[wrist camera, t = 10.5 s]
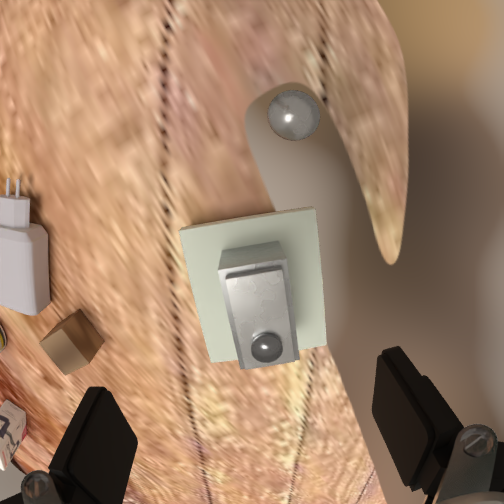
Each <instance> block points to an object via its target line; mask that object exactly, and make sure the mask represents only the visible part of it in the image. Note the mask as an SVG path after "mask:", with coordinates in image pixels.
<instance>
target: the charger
mask: <svg viewBox="0 0 504 504" xmlns="http://www.w3.org/2000/svg"><path fill="white" fill-rule="evenodd" d="M19 195H20V179H17V182H16V195H10V178H7V186H6V195H0V305H2V306H4V307H7V308H10V309H12V310H15V311H18V312H20V313H23V314H26V315H37V314H39V313H40V312H41V311H42V310H43V309H44V308H46V307H47V306H48V305H49V304H50V303H51V302H50V288H49V268H48V234H47V232H46V231H45V230H44V228H43V227H42V225H39V224H34V223H29V213H30V198H27V197H24V196H19Z"/></svg>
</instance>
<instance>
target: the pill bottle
mask: <svg viewBox="0 0 504 504" xmlns="http://www.w3.org/2000/svg"><path fill="white" fill-rule="evenodd" d="M5 346H6V336H5V333H4V330H3V328H2V326H1V325H0V352H1V351H2V350H3V349H4V348H5Z"/></svg>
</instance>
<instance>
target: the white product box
mask: <svg viewBox="0 0 504 504" xmlns="http://www.w3.org/2000/svg"><path fill="white" fill-rule="evenodd" d="M26 434H27V428H26V412H25V411H23V410H22V409H20V408H19V407H17V406H16V405H14V404H13V403H12V402H10V401H9V400H7V399H6V400H5V402H4V403H3V404H2V406H1V407H0V469H2V470H3V471H5V469H6V467H7V466H8V464H9V462H10V460H11V459H12V457H13V455H14V454H15V452H16V450H17V449H18V447H19V446H20V444H21V442H22V441H23V439H24V438H25V436H26Z"/></svg>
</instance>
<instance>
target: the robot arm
mask: <svg viewBox="0 0 504 504" xmlns="http://www.w3.org/2000/svg"><path fill="white" fill-rule="evenodd" d="M372 414H373V417H374V419H375V421H376V423H377V425H378V428H379V430H380V432H381V434H382V436H383V439H384V441H385V443H386V445H387V448H388V450H389V452H390V454H391V456H392V459H393V461H394V463H395V466H396V468H397V470H398V472H399V475H400V477H401V479H402V482H403V483H404V485H405V486H410V488H411V490H412V492H413V491H416V490H418V489H420V488H422V490H423V492H424V494H426V497H425V500H424V502H423V504H504V442H498V440H497V436H496V433H495V432H494V431H493V430H492V429H491V428H489V427H488V426H485V425H482V424H473V425H469V426H467V427H465V428H464V427H463V425H462V424H461V422H460V421H459V419H458V418H457V416H456V415H455V414H454V412H453V411H452V409H451V408H450V407H449V405H448V404H447V402H446V401H445V400H444V398H443V397H442V396H441V394H440V393H439V391H438V390H437V389H436V387H435V386H434V384H433V383H432V382H431V380H430V379H429V378H428V377H427V376H425V375H423V376H421V374H420V373H419V372H418V370H417V369H416V368H415V366H414V365H413V363H412V362H411V361H410V359H409V358H408V357H407V355H406V354H405V353H404V351H403V350H402V349H401V348H400V347H399V346H396V347H392V348H388V349H385V350H383V351H382V354H381V355H379V356H378V358H377V367H376V377H375V387H374V395H373V403H372ZM137 445H138V440H137V437H136V435H135V434H134V432H133V430H132V429H131V427H130V425H129V424H128V422H127V420H126V419H125V417H124V415H123V413H122V412H121V410H120V408H119V406H118V404H117V403H116V401H115V399H114V397H113V395H112V393H111V392H110V391H107V389H106V388H105V387H89V388H88V389H87V391H86V393H85V395H84V397H83V399H82V401H81V402H80V404H79V406H78V408H77V410H76V412H75V414H74V416H73V418H72V420H71V422H70V424H69V426H68V428H67V430H66V432H65V434H64V436H63V438H62V440H61V442H60V444H59V446H58V448H57V450H56V452H55V454H54V457H53V459H52V461H51V463H50V465H49V467H48V468H49V470H50V471H49V474H48V473H47V472H45V471H42V470H36V471H32V472H30V473H29V474H27V475H26V476H25V477H24V479H23V481H22V483H21V492H20V493H18V494H16V495H14V496H12V497H9V498H7V499H5V500H2V501H0V504H122V503H123V499H124V495H125V491H126V487H127V483H128V479H129V475H130V472H131V468H132V464H133V460H134V457H135V453H136V449H137Z"/></svg>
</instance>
